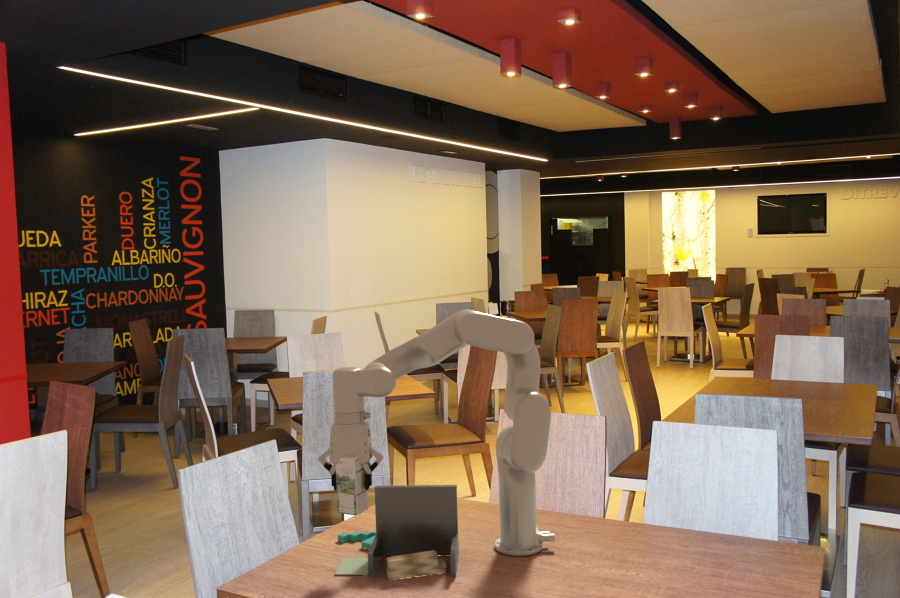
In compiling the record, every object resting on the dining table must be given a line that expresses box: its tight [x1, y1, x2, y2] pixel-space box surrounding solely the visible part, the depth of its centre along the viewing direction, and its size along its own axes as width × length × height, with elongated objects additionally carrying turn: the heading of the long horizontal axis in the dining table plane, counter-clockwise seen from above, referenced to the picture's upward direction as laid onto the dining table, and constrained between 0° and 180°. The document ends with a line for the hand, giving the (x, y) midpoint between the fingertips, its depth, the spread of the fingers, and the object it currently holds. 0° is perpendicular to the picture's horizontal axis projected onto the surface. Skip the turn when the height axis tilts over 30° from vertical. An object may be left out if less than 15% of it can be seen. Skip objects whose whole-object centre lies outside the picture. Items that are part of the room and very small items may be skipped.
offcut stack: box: [385, 550, 447, 581], centre depth 181 cm, size 14×3×5 cm, turn 104°
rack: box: [367, 484, 460, 579], centre depth 186 cm, size 21×14×18 cm
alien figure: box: [337, 530, 376, 550], centre depth 206 cm, size 20×2×20 cm
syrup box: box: [336, 456, 369, 516], centre depth 185 cm, size 6×6×14 cm
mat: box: [334, 556, 369, 576], centre depth 186 cm, size 8×10×1 cm
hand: (352, 488), depth 185 cm, fingers closed on syrup box, 7 cm apart
